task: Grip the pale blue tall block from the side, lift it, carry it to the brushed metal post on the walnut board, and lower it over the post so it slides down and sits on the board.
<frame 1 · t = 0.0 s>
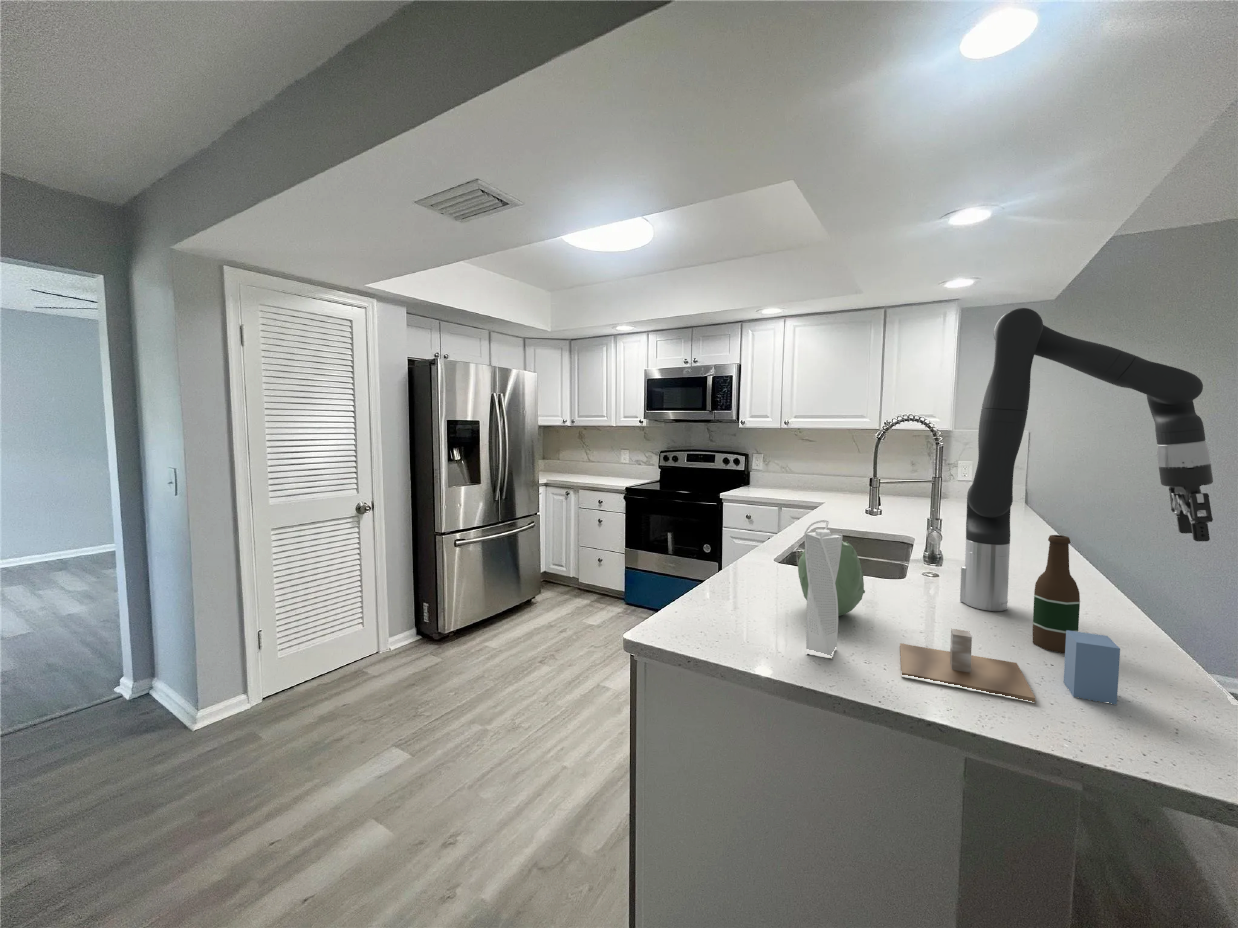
hand: (1193, 536, 108), 22 cm above the counter, tool pointing down, fingers open, 8 cm apart
cabbage: (830, 613, 127), on the counter
skyscraper: (821, 652, 106), on the counter
pale blue tall block: (1088, 693, 88), on the counter
post stand: (959, 672, 96), on the counter
beer bottle: (1053, 646, 106), on the counter
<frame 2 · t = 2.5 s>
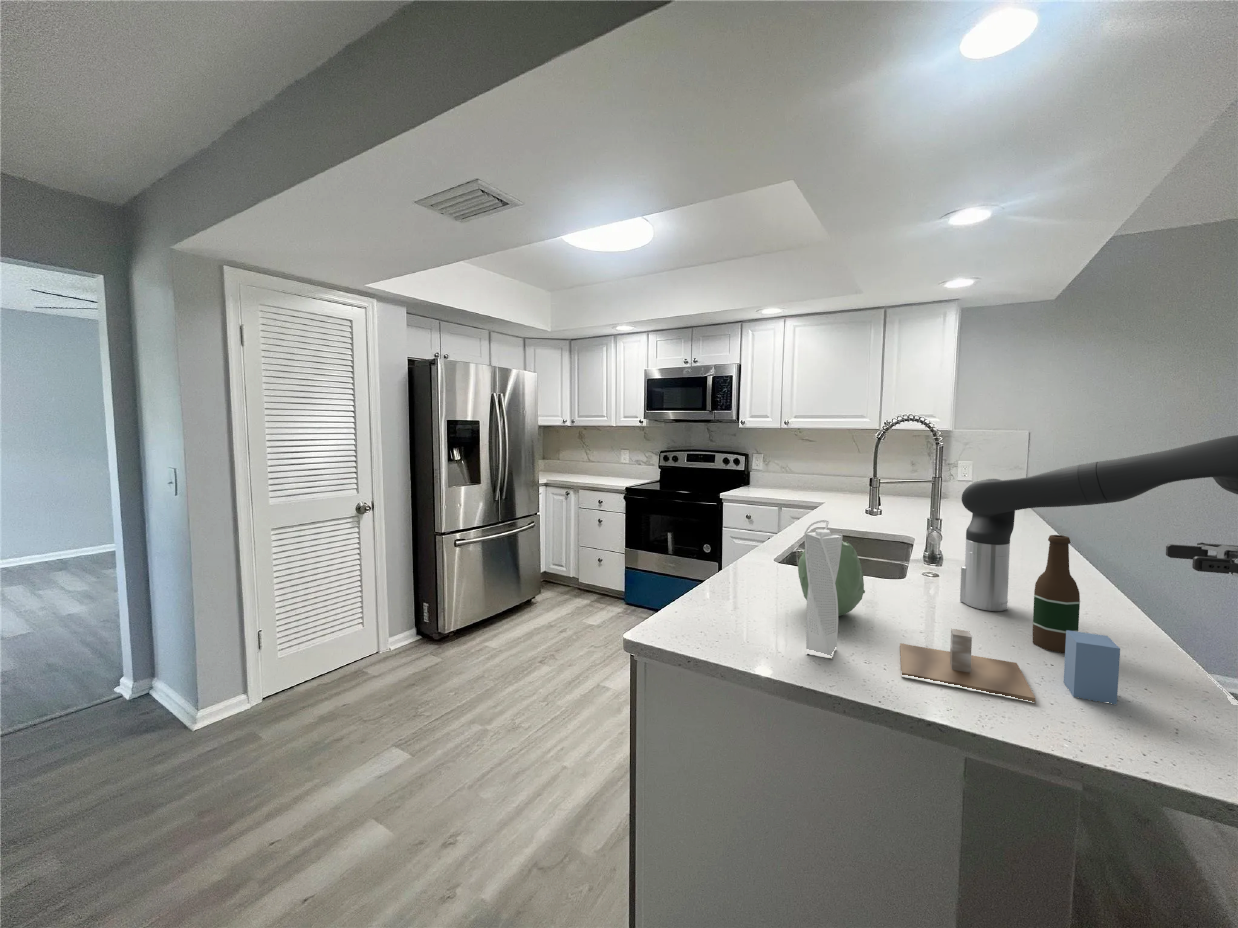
hand: (1179, 556, 81), 26 cm above the counter, tool horizontal, fingers open, 8 cm apart
nothing on the counter moved.
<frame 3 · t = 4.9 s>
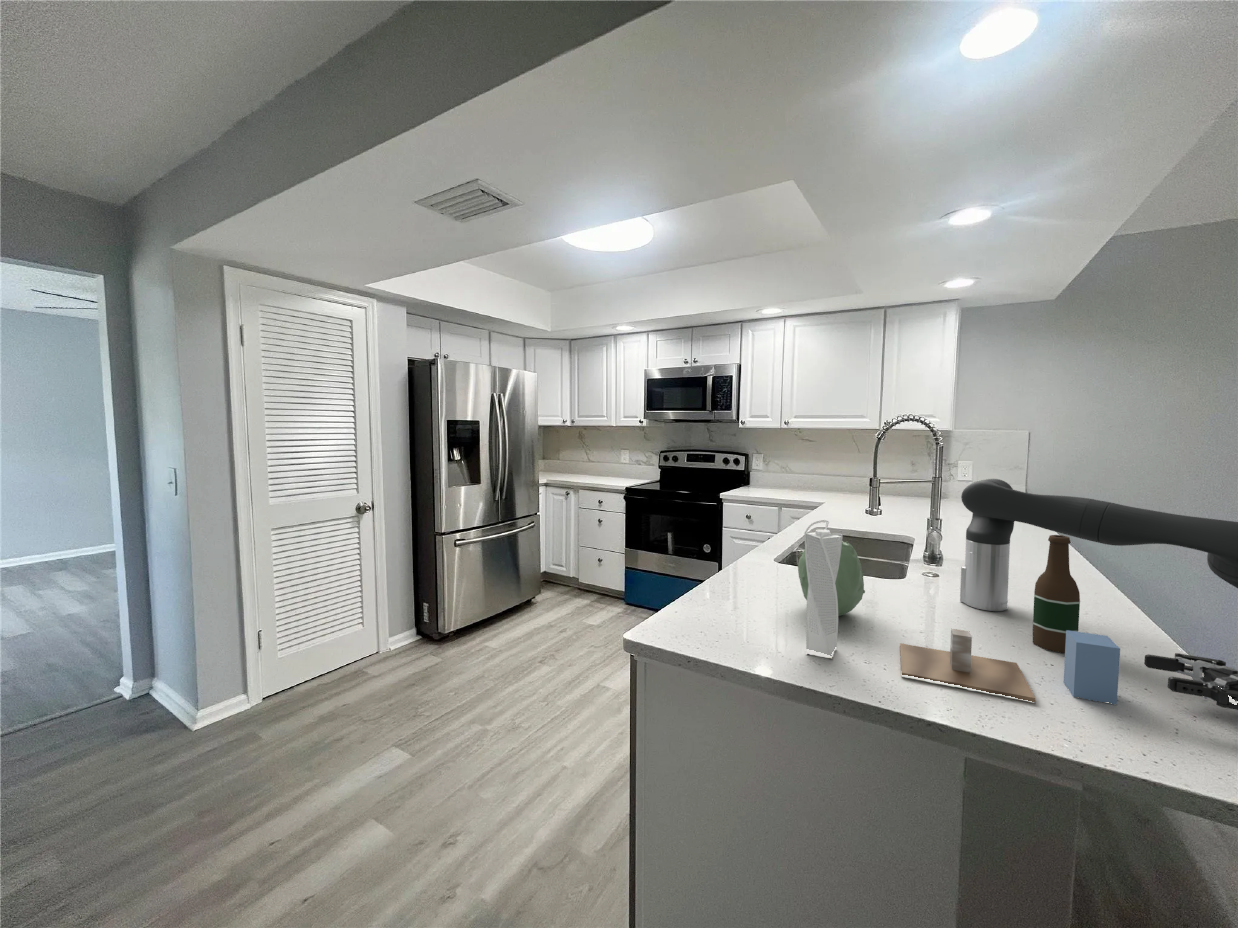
hand: (1156, 671, 84), 6 cm above the counter, tool horizontal, fingers open, 8 cm apart
nothing on the counter moved.
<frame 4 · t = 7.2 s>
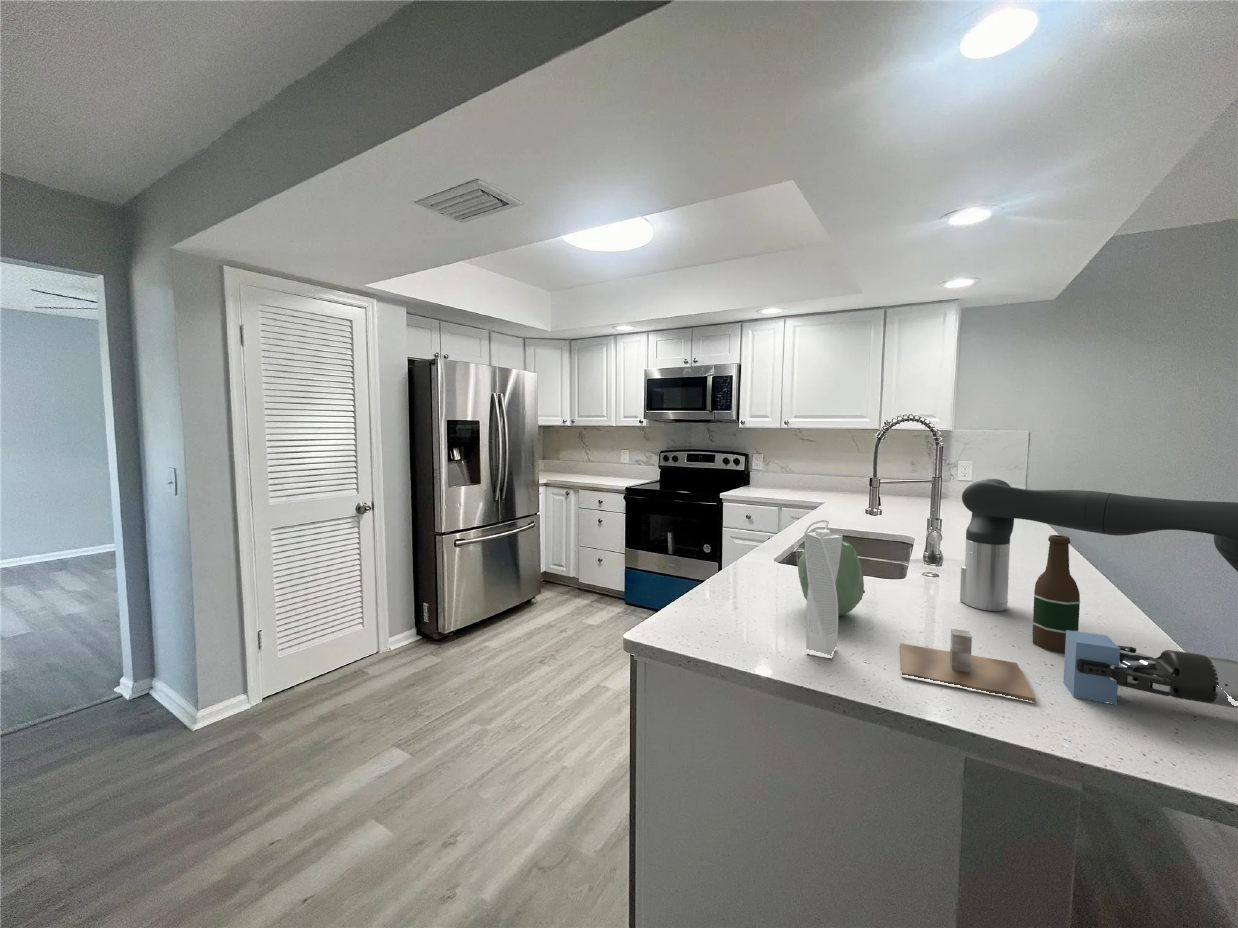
hand: (1072, 657, 89), 6 cm above the counter, tool horizontal, fingers closed on pale blue tall block, 5 cm apart
pale blue tall block: (1088, 693, 88), on the counter, touching gripper
everything else where it was.
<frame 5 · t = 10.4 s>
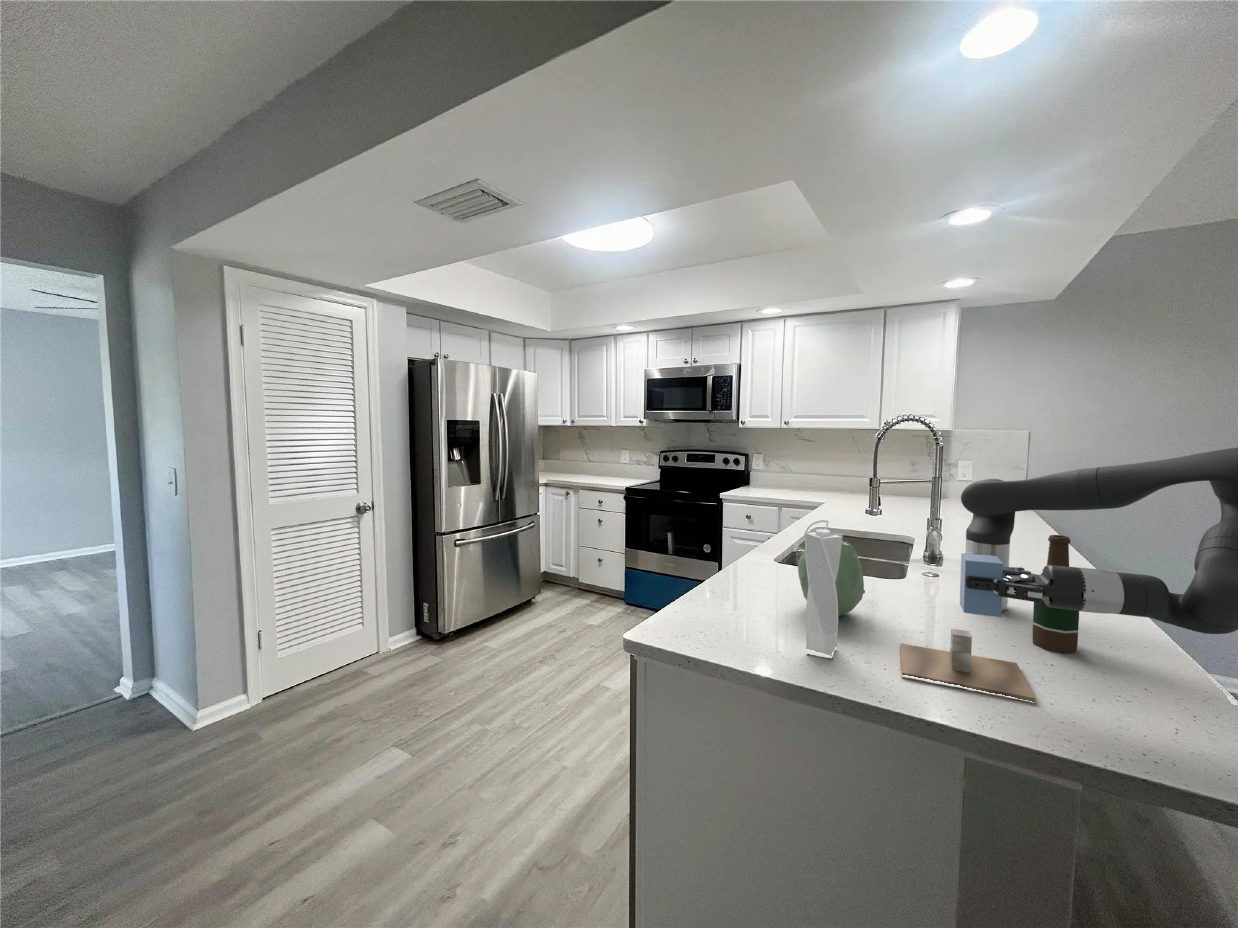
hand: (964, 577, 94), 19 cm above the counter, tool horizontal, fingers closed on pale blue tall block, 5 cm apart
pale blue tall block: (979, 609, 94), point 13 cm above the counter, touching gripper
everything else where it was.
when the fingers open (8 cm above the counter, at t = 13.9 s): pale blue tall block drops 1 cm, resting on post stand.
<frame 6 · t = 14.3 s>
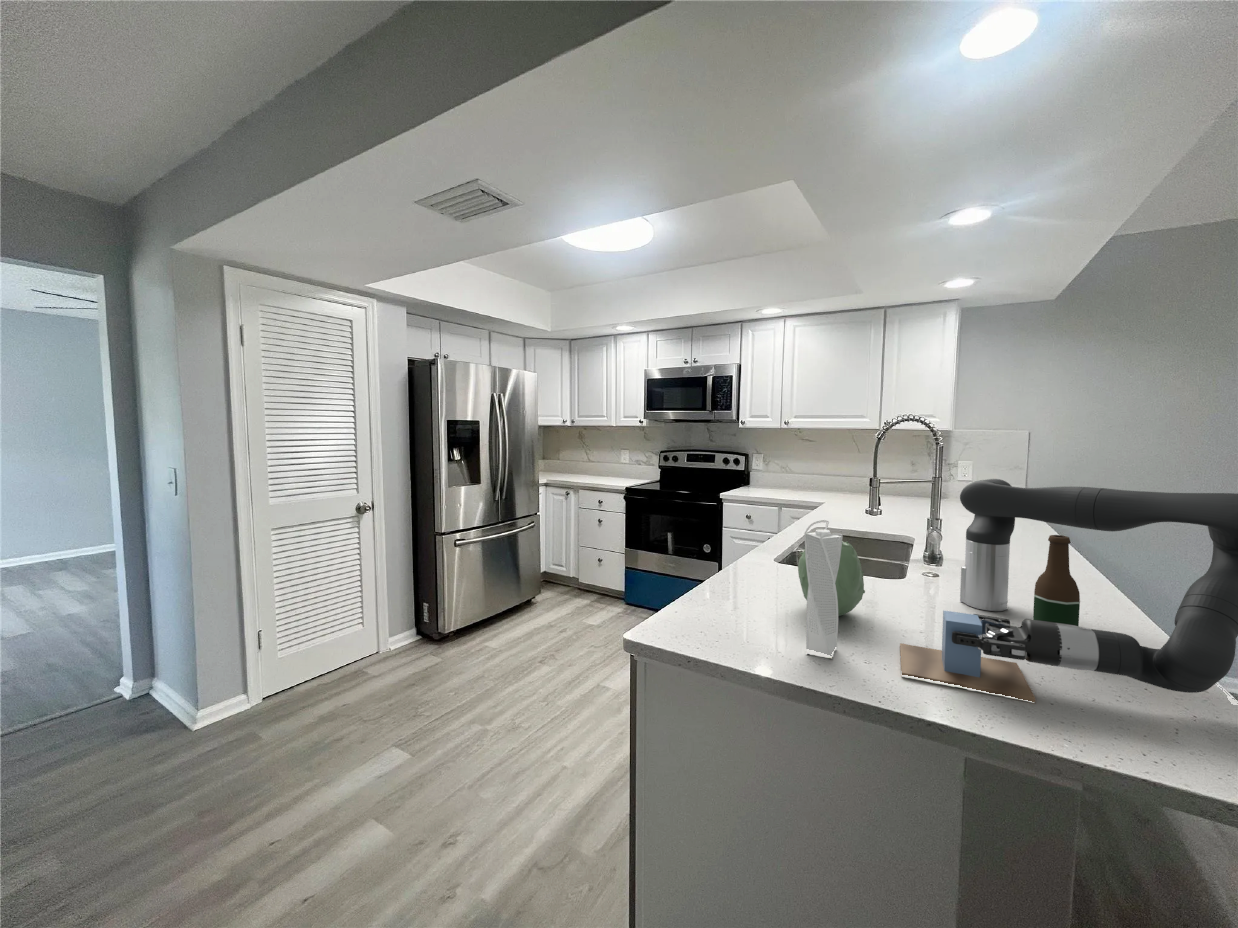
hand: (949, 628, 96), 8 cm above the counter, tool horizontal, fingers open, 8 cm apart
pale blue tall block: (960, 667, 96), point 1 cm above the counter, touching post stand
everything else where it was.
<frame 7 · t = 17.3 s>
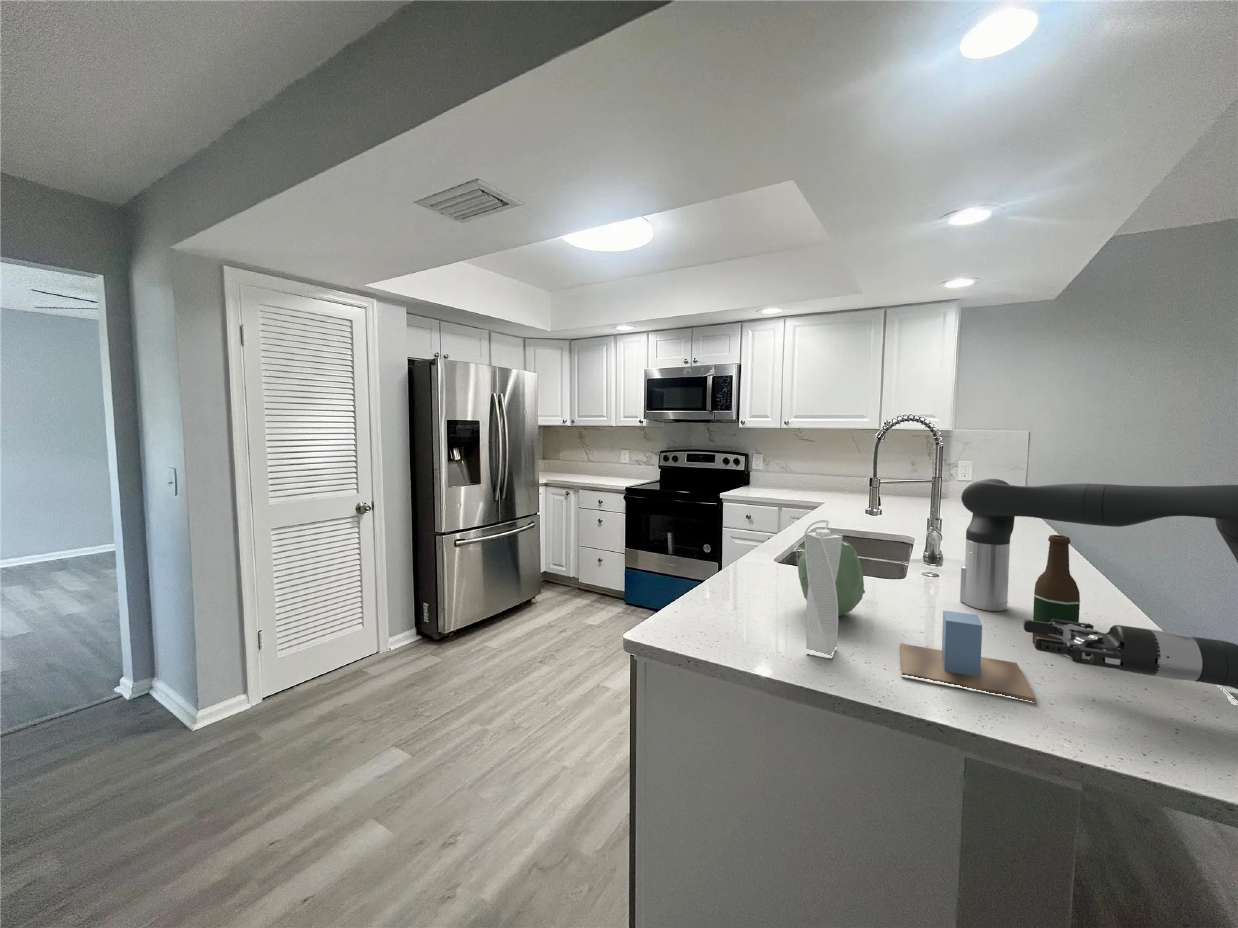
hand: (1029, 633, 91), 9 cm above the counter, tool horizontal, fingers open, 8 cm apart
nothing on the counter moved.
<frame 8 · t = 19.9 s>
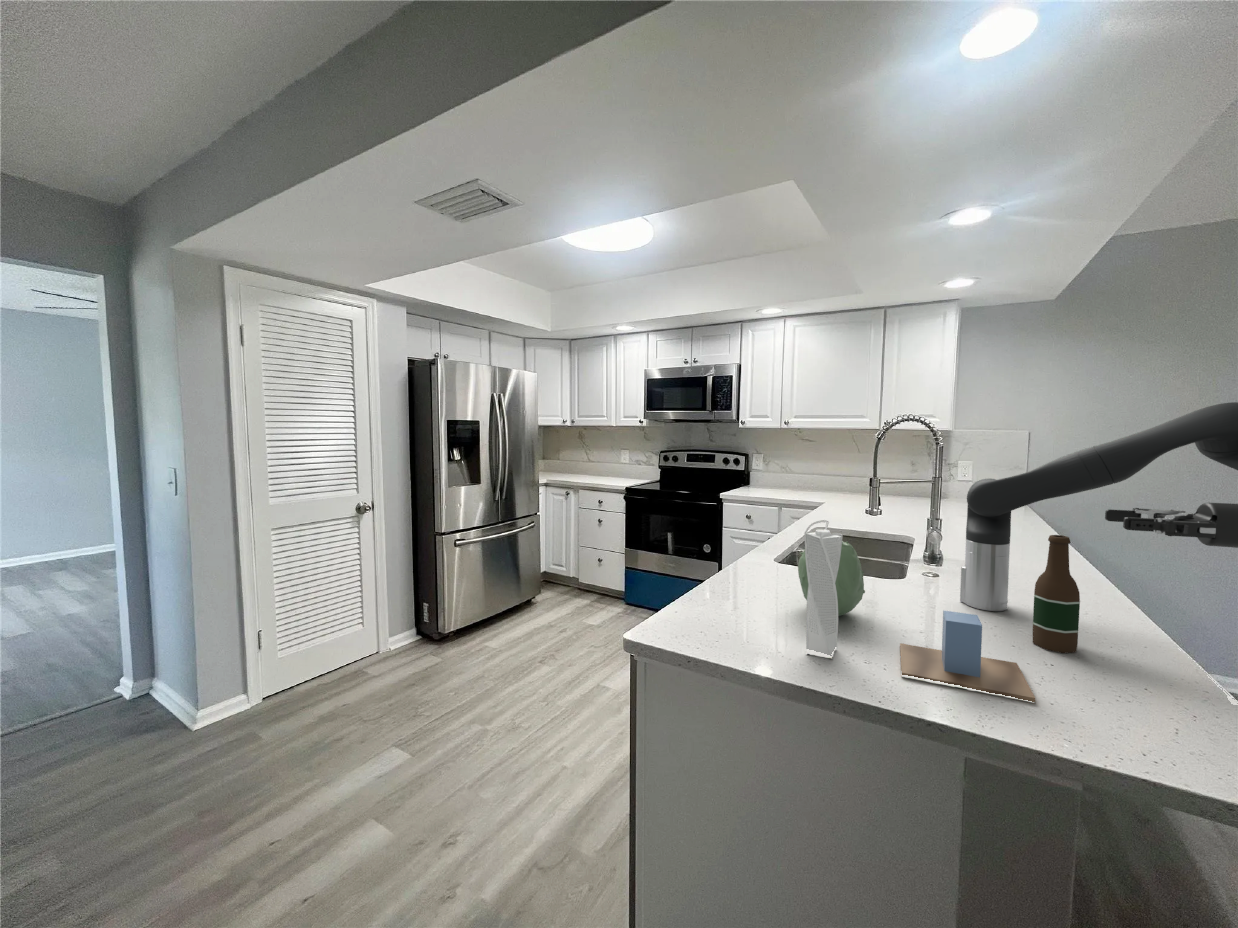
hand: (1114, 519, 92), 30 cm above the counter, tool horizontal, fingers open, 8 cm apart
nothing on the counter moved.
at the end: pale blue tall block 0.0 cm from the post stand (horizontally); pale blue tall block point 1.0 cm above the counter; pale blue tall block tilted 0° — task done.
